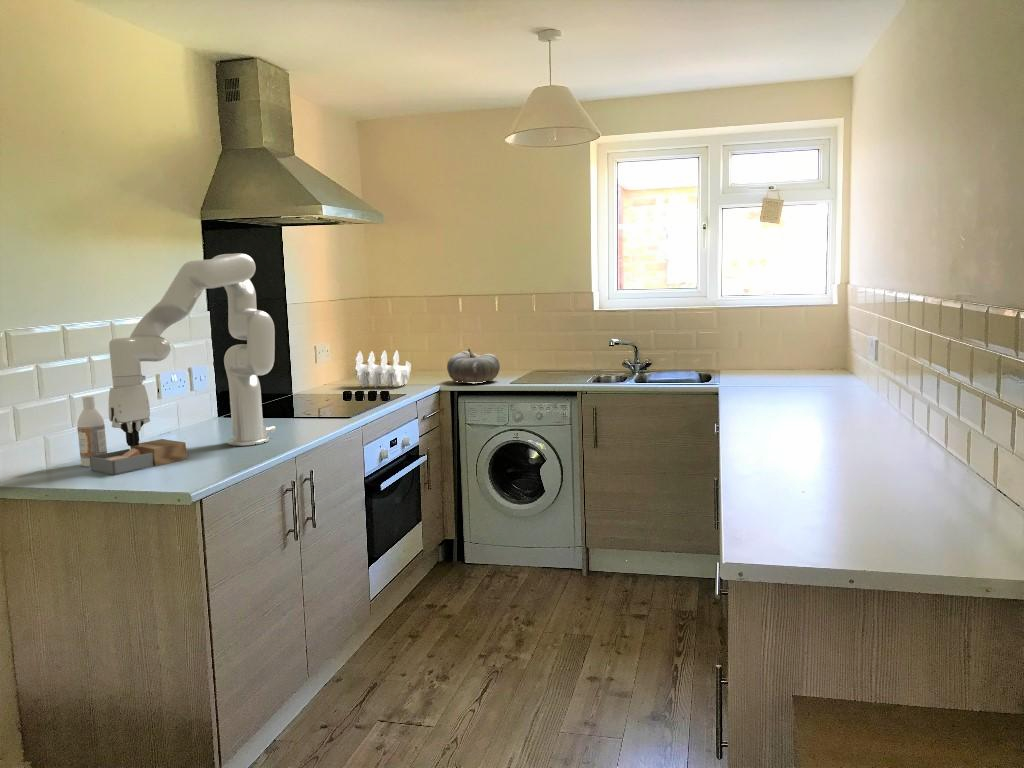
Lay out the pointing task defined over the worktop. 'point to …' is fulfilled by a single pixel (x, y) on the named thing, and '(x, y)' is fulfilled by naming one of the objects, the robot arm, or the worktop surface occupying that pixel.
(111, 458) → the light orange block
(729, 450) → the worktop surface
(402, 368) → the white shapes
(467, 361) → the gourd
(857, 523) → the worktop surface
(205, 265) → the robot arm
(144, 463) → the tray
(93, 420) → the bath foam
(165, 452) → the brown slab
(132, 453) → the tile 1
